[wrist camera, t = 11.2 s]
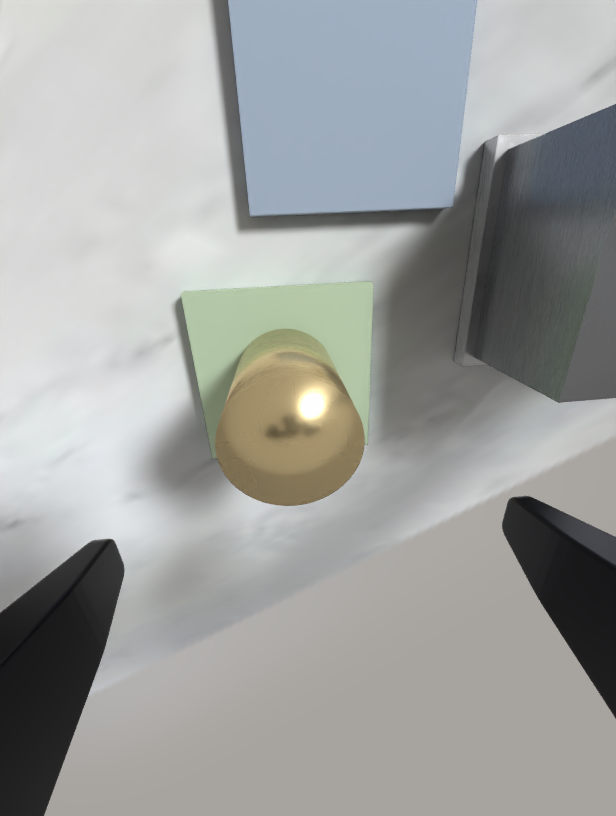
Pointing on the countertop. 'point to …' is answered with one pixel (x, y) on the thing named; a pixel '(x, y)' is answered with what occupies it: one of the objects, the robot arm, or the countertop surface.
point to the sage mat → (269, 310)
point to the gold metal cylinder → (288, 422)
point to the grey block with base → (546, 261)
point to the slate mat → (351, 102)
